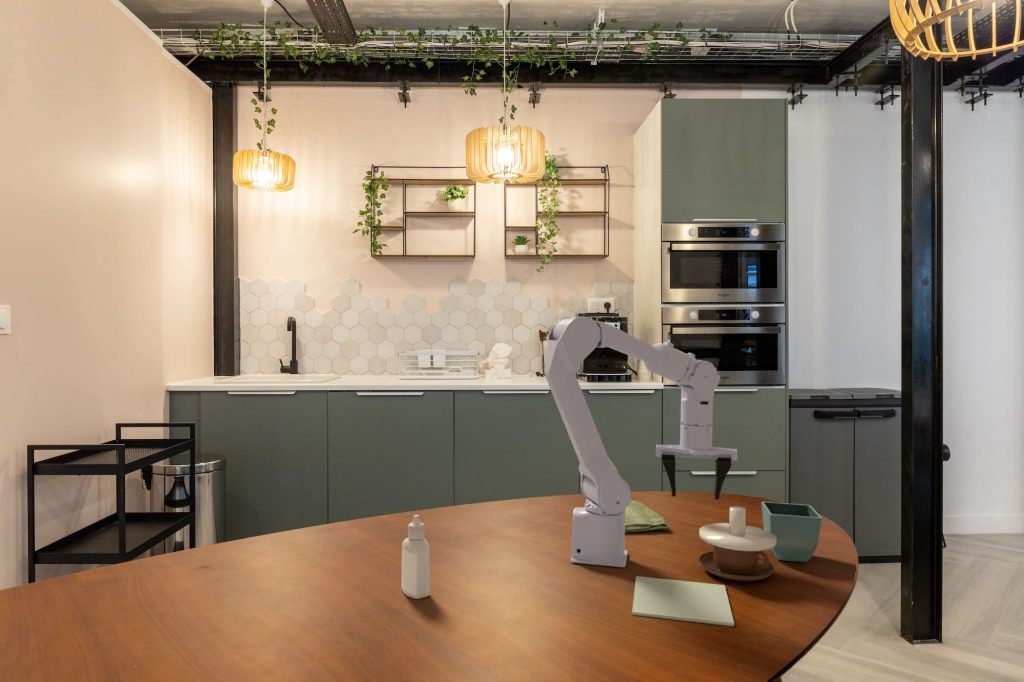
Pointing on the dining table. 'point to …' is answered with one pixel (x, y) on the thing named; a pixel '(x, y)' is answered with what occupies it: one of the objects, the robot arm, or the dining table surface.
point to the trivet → (682, 601)
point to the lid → (737, 533)
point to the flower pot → (792, 529)
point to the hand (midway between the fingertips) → (695, 496)
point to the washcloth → (642, 518)
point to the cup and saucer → (737, 564)
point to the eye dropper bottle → (416, 562)
